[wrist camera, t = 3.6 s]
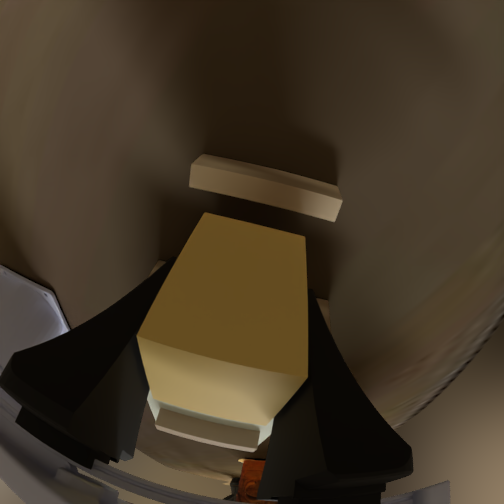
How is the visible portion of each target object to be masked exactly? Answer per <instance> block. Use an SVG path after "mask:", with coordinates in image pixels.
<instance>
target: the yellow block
mask: <svg viewBox="0 0 504 504" xmlns="http://www.w3.org/2000/svg"><path fill="white" fill-rule="evenodd" d="M137 340H138V345H139V349H140V353H141V357H142V361H143V365H144V369H145V373H146V376H147V380H148V383H149V387H150V390H151V394H152V397H153V399H156V400H159V401H162V402H165V403H168V404H172V405H175V406H178V407H182V408H185V409H189V410H192V411H196V412H200V413H204V414H208V415H212V416H216V417H220V418H225V419H230V420H235V421H240V422H245V423H251V424H257V425H263V426H266V425H267V424H268V423H269V422H270V421H271V420H272V419H273V418H274V417H275V416H276V414H277V413H278V412H279V411H280V410H281V409H282V408H283V407H284V405H285V404H286V403H287V402H288V401H289V400H290V398H291V397H292V396H293V395H294V394H295V392H296V391H297V390H298V389H299V388H300V386H301V385H302V384H303V383H304V382H305V380H306V379H307V378H308V295H307V266H306V244H305V237H304V236H301V235H297V234H293V233H289V232H285V231H281V230H277V229H273V228H269V227H265V226H261V225H257V224H252V223H248V222H244V221H240V220H236V219H231V218H227V217H223V216H219V215H214V214H210V213H206V212H204V214H203V216H202V217H201V219H200V221H199V222H198V224H197V226H196V227H195V229H194V231H193V232H192V234H191V236H190V237H189V239H188V241H187V243H186V244H185V246H184V248H183V250H182V251H181V253H180V255H179V257H178V258H177V260H176V262H175V264H174V265H173V267H172V269H171V271H170V273H169V274H168V276H167V278H166V280H165V282H164V284H163V285H162V287H161V289H160V291H159V293H158V295H157V297H156V299H155V300H154V302H153V304H152V306H151V308H150V310H149V312H148V314H147V316H146V318H145V320H144V322H143V324H142V326H141V328H140V330H139V332H138V334H137Z"/></svg>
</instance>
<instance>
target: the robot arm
mask: <svg viewBox="0 0 504 504" xmlns="http://www.w3.org/2000/svg"><path fill="white" fill-rule="evenodd" d="M177 258H178V257H174V256H173V257H172V258H170V259H169V260H168V261H167V262H166V263H164V264H163V265H162V266H161V267H160V268H159V269H158V270H156V271H155V272H154V273H153V274H152V275H150V276H149V277H148V278H147V279H146V280H144V281H143V282H142V283H141V284H140V285H138V286H137V287H136V288H135V289H133V290H132V291H131V292H129V293H128V294H127V295H125V296H124V297H123V298H121V299H120V300H119V301H117V302H116V303H115V304H113V305H112V306H110V307H109V308H107V309H106V310H104V311H103V312H101V313H100V314H98V315H97V316H95V317H93V318H92V319H90V320H88V321H86V322H85V323H83V324H81V325H79V326H78V327H76V328H74V329H72V330H70V328H69V326H68V324H67V322H66V320H65V318H64V315H63V313H62V311H61V309H60V306H59V304H58V302H57V299H56V297H55V295H54V293H53V292H52V291H51V290H49V289H47V288H45V287H42V286H40V285H38V284H36V283H34V282H32V281H30V280H28V279H26V278H24V277H22V276H20V275H19V274H17V273H15V272H13V271H11V270H9V269H7V268H6V267H4V266H2V265H0V273H1V274H0V478H1V479H2V480H3V481H4V482H5V483H6V484H7V486H8V487H9V488H10V489H11V490H12V491H13V492H14V493H15V494H16V495H18V497H20V499H22V500H23V501H24V502H25V503H26V504H132V503H129V502H127V501H124V500H121V499H118V495H119V492H118V491H117V490H115V489H113V488H111V487H109V486H107V485H106V484H104V483H102V482H100V481H97V480H95V479H93V478H90V477H88V476H85V475H83V474H80V473H78V470H77V467H78V468H80V469H82V470H84V471H86V472H87V473H89V474H91V475H93V476H95V477H98V478H100V479H102V480H104V481H106V482H108V483H110V484H113V485H115V486H118V487H120V488H122V489H125V490H127V491H130V492H132V493H135V494H138V495H141V496H143V497H147V498H149V499H152V500H155V501H159V502H162V503H165V504H251V503H243V502H235V501H228V500H222V499H217V498H211V497H206V496H201V495H197V494H192V493H188V492H184V491H181V490H177V489H173V488H170V487H166V486H163V485H160V484H156V483H153V482H150V481H147V480H145V479H142V478H139V477H136V476H133V475H131V474H129V473H126V472H123V471H121V470H119V469H116V468H114V467H112V466H109V465H108V464H109V461H110V460H111V461H114V462H116V463H118V462H119V459H121V460H124V461H127V460H130V459H132V458H133V456H134V451H135V446H136V441H137V436H138V432H139V427H140V423H141V419H142V415H143V412H144V408H145V404H146V401H147V397H148V394H149V391H150V387H149V383H148V380H147V376H146V373H145V369H144V365H143V361H142V357H141V353H140V349H139V345H138V340H137V334H138V332H139V330H140V328H141V326H142V324H143V322H144V320H145V318H146V316H147V314H148V312H149V310H150V308H151V306H152V304H153V302H154V300H155V299H156V297H157V295H158V293H159V291H160V289H161V287H162V285H163V284H164V282H165V280H166V278H167V276H168V274H169V273H170V271H171V269H172V267H173V265H174V264H175V262H176V260H177ZM307 295H308V378H307V379H306V380H305V382H304V383H303V384H302V385H301V386H300V388H299V389H298V390H297V391H296V392H295V394H294V395H293V396H292V397H291V398H290V400H289V401H288V402H287V403H286V404H285V405H284V407H283V408H282V409H281V410H280V411H279V412H278V413H277V414H276V416H275V417H274V420H273V426H272V431H271V437H270V442H269V447H268V451H267V456H266V460H265V465H264V469H263V473H262V477H261V481H260V484H259V488H258V492H257V498H256V499H257V500H265V501H278V503H277V504H450V482H449V481H448V480H447V481H444V482H442V483H438V484H435V485H432V486H429V487H426V488H422V489H419V490H416V491H412V492H409V493H405V494H400V495H396V496H392V497H388V498H383V499H381V492H385V490H386V483H387V482H391V481H394V480H397V479H401V478H403V477H406V476H409V475H411V474H412V472H413V457H412V449H411V447H410V446H409V445H408V444H407V443H406V442H405V441H404V440H403V439H402V438H401V437H400V436H399V435H398V434H397V433H396V432H395V431H394V430H393V429H392V428H391V426H390V425H389V424H388V423H387V422H386V421H385V420H384V418H383V417H382V416H381V415H380V414H379V412H378V411H377V410H376V408H375V407H374V406H373V404H372V403H371V402H370V400H369V399H368V398H367V396H366V395H365V394H364V392H363V391H362V389H361V388H360V386H359V385H358V383H357V382H356V380H355V378H354V377H353V375H352V373H351V372H350V370H349V368H348V367H347V365H346V363H345V361H344V359H343V357H342V355H341V353H340V351H339V350H338V347H337V345H336V343H335V341H334V339H333V337H332V335H331V333H330V330H329V328H328V326H327V324H326V321H325V319H324V316H323V314H322V312H321V309H320V307H319V304H318V302H317V299H316V296H315V294H314V292H313V290H312V289H308V288H307Z"/></svg>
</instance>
